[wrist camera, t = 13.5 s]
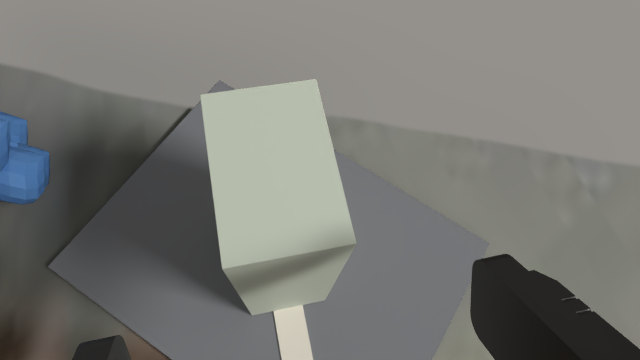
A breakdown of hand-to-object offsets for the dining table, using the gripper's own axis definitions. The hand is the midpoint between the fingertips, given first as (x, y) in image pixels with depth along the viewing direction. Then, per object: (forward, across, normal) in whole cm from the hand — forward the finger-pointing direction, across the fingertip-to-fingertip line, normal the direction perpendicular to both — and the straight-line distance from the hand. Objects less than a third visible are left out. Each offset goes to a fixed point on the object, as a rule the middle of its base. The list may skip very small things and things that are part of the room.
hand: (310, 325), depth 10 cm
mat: (+14, 0, +7) cm, 16 cm away
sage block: (+14, 0, +6) cm, 15 cm away
